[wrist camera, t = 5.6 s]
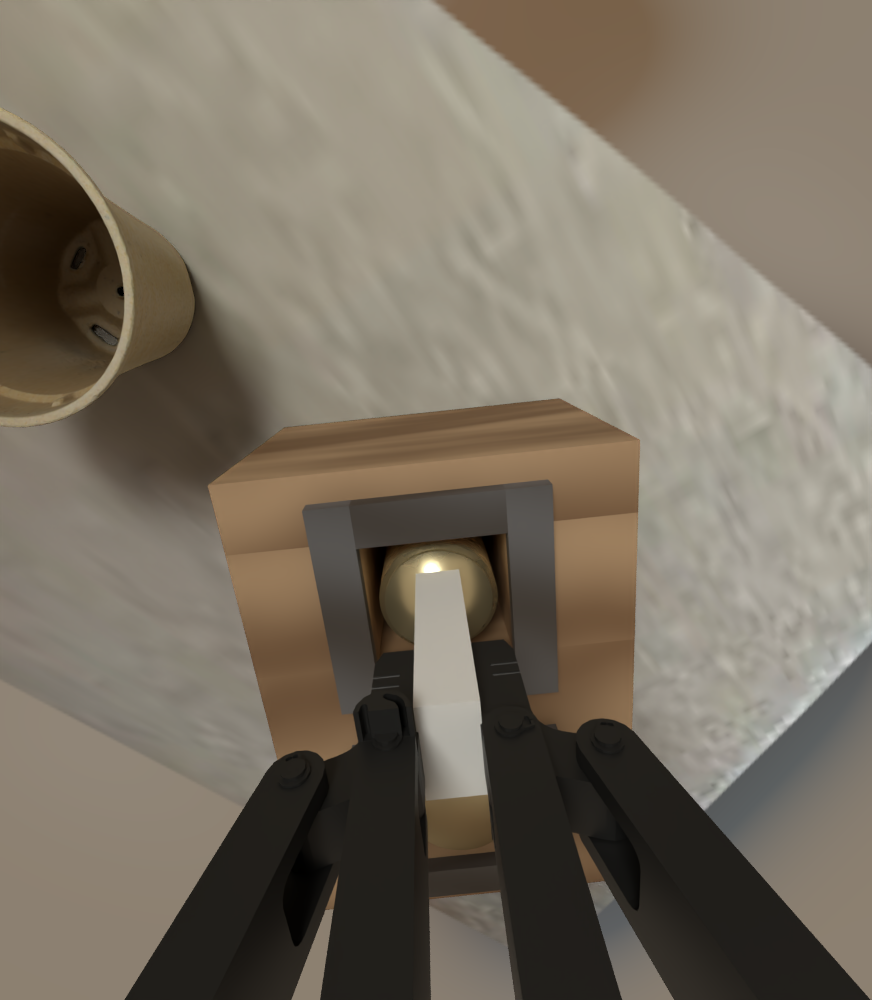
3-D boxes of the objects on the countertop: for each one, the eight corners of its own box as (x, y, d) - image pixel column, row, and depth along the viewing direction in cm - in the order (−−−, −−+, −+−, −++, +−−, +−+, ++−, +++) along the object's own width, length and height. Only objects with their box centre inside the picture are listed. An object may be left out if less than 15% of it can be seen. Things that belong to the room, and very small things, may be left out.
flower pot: (22, 371, 25) (-173, 394, 17) (16, 150, 22) (-223, 45, 14) (220, 413, 26) (128, 453, 18) (239, 205, 23) (140, 138, 15)
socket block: (284, 427, 26) (200, 491, 16) (559, 398, 26) (647, 443, 16) (346, 740, 32) (313, 925, 22) (566, 717, 32) (633, 892, 22)
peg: (385, 483, 25) (370, 552, 17) (471, 474, 25) (494, 539, 17) (396, 560, 27) (387, 657, 19) (477, 552, 26) (501, 645, 19)
